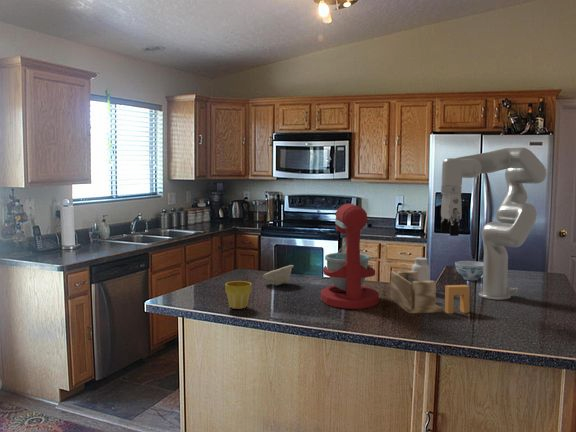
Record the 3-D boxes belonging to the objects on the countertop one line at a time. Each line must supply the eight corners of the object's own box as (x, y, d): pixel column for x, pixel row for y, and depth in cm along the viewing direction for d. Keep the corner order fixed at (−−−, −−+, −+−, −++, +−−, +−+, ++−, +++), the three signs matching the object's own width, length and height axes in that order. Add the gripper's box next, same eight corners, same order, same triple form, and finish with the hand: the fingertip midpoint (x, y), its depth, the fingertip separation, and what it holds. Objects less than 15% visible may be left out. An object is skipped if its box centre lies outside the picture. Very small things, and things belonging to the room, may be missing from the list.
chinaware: (449, 276, 263) (450, 261, 262) (478, 275, 265) (478, 260, 264) (462, 282, 248) (463, 266, 247) (492, 281, 250) (493, 265, 249)
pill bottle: (430, 294, 225) (431, 260, 224) (411, 293, 227) (411, 259, 226) (429, 290, 233) (429, 257, 232) (410, 289, 235) (411, 256, 233)
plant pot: (255, 305, 208) (255, 281, 207) (245, 312, 198) (245, 287, 197) (232, 303, 211) (231, 280, 211) (220, 310, 202) (220, 285, 201)
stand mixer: (370, 290, 233) (371, 201, 229) (387, 309, 202) (388, 206, 198) (317, 291, 232) (317, 201, 228) (325, 310, 200) (326, 206, 197)
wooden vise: (420, 297, 220) (420, 270, 219) (442, 312, 197) (442, 282, 196) (390, 298, 219) (390, 271, 218) (408, 313, 196) (409, 283, 195)
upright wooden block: (464, 310, 200) (465, 284, 199) (468, 312, 196) (469, 286, 196) (444, 311, 199) (445, 285, 198) (448, 313, 196) (448, 287, 195)
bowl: (275, 280, 256) (275, 260, 255) (299, 283, 247) (299, 263, 247) (256, 285, 244) (256, 264, 243) (280, 289, 235) (280, 267, 234)
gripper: (469, 191, 194) (467, 237, 195) (452, 190, 211) (450, 232, 212) (450, 190, 193) (448, 236, 194) (434, 189, 210) (432, 231, 212)
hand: (449, 234), depth 203 cm, fingers open, 9 cm apart
